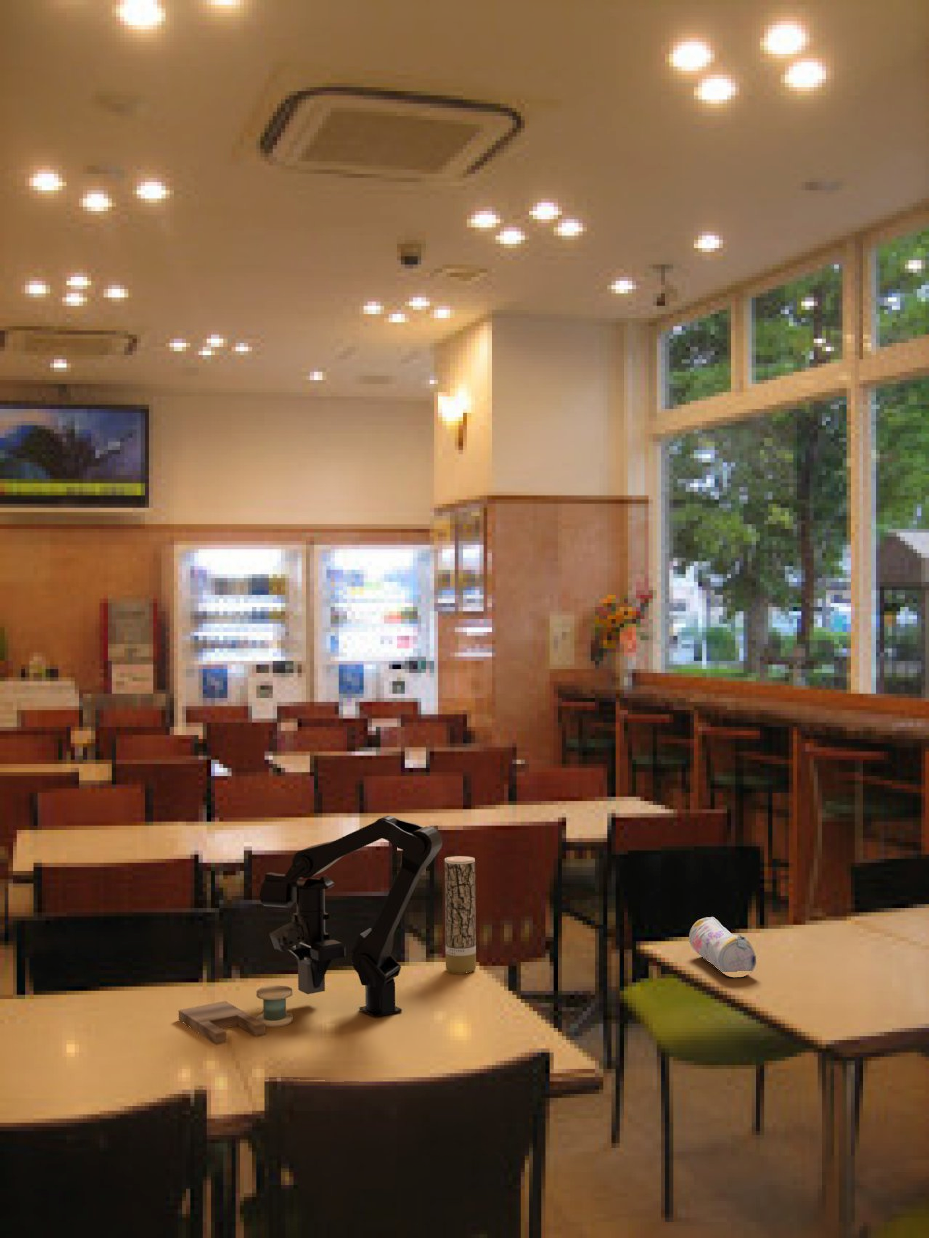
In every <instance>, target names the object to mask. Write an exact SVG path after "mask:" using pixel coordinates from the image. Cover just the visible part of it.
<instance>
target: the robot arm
mask: <svg viewBox="0 0 929 1238" xmlns="http://www.w3.org/2000/svg"><path fill="white" fill-rule="evenodd" d="M382 839H383V840H385V841H387V842H389V843H390V844H391V845H392V846H394V847H395V848H397V849H399V850H402V851H401V855H400V856H401V857H400V868H399V870H398V872H397V874H396V877H395V879H394V882H392V885H391V887H390V891H389V892H388V894H387V897H386V899H385V901H384V903H383V906H382V908H381V909H380V912H379V914H378V916H377V918H376V920H375V923H374V925H373V927H370V928H367V929H366V930H364V931H363V932H361V933H360V934H358V936H357V939H356V943H355V946H354V948H353V949H352V950H350V953H352V956H351V961H350V962H351V964H352V968H353V969H354V970H355V972H356V973H357V976H358V978H359V981H360V984H361V986H365V987H364V990H365V995H364V996H365V1005H364V1006H359V1007H358V1008H359V1011H361V1012H363V1013H365V1014H367V1015H368V1016H371V1017H374V1018H378V1017H383V1016H384V1017H385V1016H388V1015H393V1014H397V1013H401V1012H403V1009H402V1008H400V1007H399V1006H396V982H395V978H396V977H398V976H399V974H400V972H401V969H402V966H401V964H399V962H398V961H397V960H396V959H395V958H394V957H393V955H392V951H393V947H394V934H395V931H396V929H397V927H398V925H399V923H400V921H401V919H402V916H403V914H404V912H405V910H406V908H407V905H408V903H409V901H410V899H411V896H412V895H413V893H414V891H415V888H416V886H417V884H418V882H419V880H420V878H421V875H422V873H424V871H425V870H426V869H427V867H428V866H429V865H430V864H431V863H432V861H434V858H435V857H436V856H437V854H438V853H439V852H440V850H441V849H442V846H443V841H444V840H443V838H442V835H441V833H440V832H439V830H438V829H436V828H435V827H432V826H422V825H419V824H417V823H413V822H409V821H406V820H402V819H399V818H397V817H394V816H393V815H386V816H383V817H380V818H378V819H376V820H375V821H374V822H372V823H370V824H368V825H365V826H363V827H361V828H359V829H357V830H355V831H353V832H350V833H348V834H345V836H342V837H340V838H337V839H336V840H335V839H334V840H333V841H332V840H331V841H327V842H322V843H318V844H314V845H311V846H309V847H306V848H304V849H300V850H298V851H297V852H295V854H294V855H293V858H292V862H291V863H292V864H291V866H290V868H289V869H288V871H287V872H286V873H285V874H284V873H276V872H267V873H265V874H264V880H263V882H262V884H261V889H260V891H259V901H260V904H261V905H262V906H264V907H274V908H276V907H277V908H291V907H292V906H293V905H294V904H296V912H295V913H294V912H293V914H292V915H291V922H289V923H286V924H284V925H282V926H281V927H278V928H276V929H275V930H273V931H271V932H270V933H269V937H270V939H271V942H272V945H273V948H274V949H275V950H278V951H280V952H282V953H285V952H287V951H289V952H290V953H291V954H292V955H294V957H295V958H296V962H297V963H298V960H304V958H306V959H307V960H308V961H309V962H310V963H311V970H312V979H313V985H314V988H318V987H320V984H321V982H322V980H323V978H324V976H325V975H326V973H327V972H328V969H329V967H330V965H331V964H332V962H333V960H335V959H339V958H345V957H346V946H345V945H344V944H343V943H342V942H340V941H338V940H336V939H330V933H328V932H326V920H329V919H330V913H327V912H326V902H325V901H326V900H325V897H326V896H325V895H326V894H325V892H326V891H325V890H328V889H331V888H332V887H334V886H335V884H336V883H335V882H334V881H333V880H331V879H330V878H329V877H328V875H327V874H324V875H323V876H321V877H320V878H316V877H315V878H313V877H314V876H316V875H318V874H320V873H324V871H325V870H327V869H329V868H330V867H331V866H332V865H333V864H335V863H336V862H338V861H339V860H340V859H341V858H343V857H345V856H346V855H347V856H348V855H349V854H351V853H354V852H355V851H358V850H361V849H362V848H364V847H366V846H369V845H371V844H373V843H375V842H377V841H380V840H382ZM302 879H306V880H305V881H299V880H302ZM325 977H326V976H325Z"/></svg>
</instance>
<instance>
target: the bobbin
mask: <svg viewBox="0 0 929 1238" xmlns="http://www.w3.org/2000/svg"><path fill="white" fill-rule="evenodd" d="M255 995H256V998H258V999H260V1000H262V1001H263V1002H262V1005H263V1007H262V1011H263V1013H261V1014H259V1015H257V1016H256V1019H258V1020H260V1021H261V1022H263V1023H265V1028H266V1027H267V1028H277V1027H279V1028H280V1027H283V1026H284V1027H285V1026H287V1025H290V1024H291V1023H293V1019H294V1017H293V1016H294V1015H293V1014H292V1013H289V1012H287V998H291V997H292V996H293V988H292V987H290V986H286V985H269V986H263V987H260V988H259V989H257V990H256V994H255Z"/></svg>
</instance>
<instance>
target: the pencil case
mask: <svg viewBox="0 0 929 1238" xmlns="http://www.w3.org/2000/svg"><path fill="white" fill-rule="evenodd" d="M688 935H689V936H688V939H689V944H690V946H691V948H692V950H693V951H695V952H696V954H698V955H699V956H700V955H701V956H702V957H703V958H702V957H701V956H700V957H701V958H702V959H704V958H705V959H706V960H708V961H710V962H711V963H712V964H713V965H714V966H716V967H717V968H718V969H720V971H722V972H737V971H752V972H753V971H754V970H755V967H756V965H757V955H756V952H755V949H754V948H753V946H752V944H751V942H750V941H749V940H748V939H747V937H746V936H743V935H741V933H738V934H733V933H731V932H730V931H729V930H728V929H727V928H726V927H724V926H723V925H722V924H721V922H720V921H719V920H718V919H716V918H715V917H714V916H711V917H707V916H706V917H703V918H701V919H698V920H697V921H695V923H694V924H693V925H692V927H691V928H690V930H689V934H688ZM705 959H704V960H705ZM706 960H705V961H706ZM714 966H713V967H714ZM720 971H719V972H720Z"/></svg>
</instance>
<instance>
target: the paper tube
mask: <svg viewBox="0 0 929 1238" xmlns="http://www.w3.org/2000/svg"><path fill="white" fill-rule="evenodd" d="M444 913H445V914H444V915H445V916H444V920H445V921H444V922H445V923H444V927H445V928H444V929H445V931H444V933H445V934H444V935H445V969H446V971H447V972H448V973H451V972H453V973H452V974H456V973H465V974H467V973H466V972H470V973H473V972H474V971H475V970H476V969H477V956H476V955H477V949H476V948H477V945H476V943H477V938H476V937H477V934H476V933H477V929H476V928H477V927H476V926H477V924H476V922H477V921H476V915H477V914H476V860H475V857H473V856H467V855H465V856H464V855H463V856H462V855H459V856H458V855H455V856H448V857H445V858H444ZM472 971H473V972H472Z"/></svg>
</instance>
